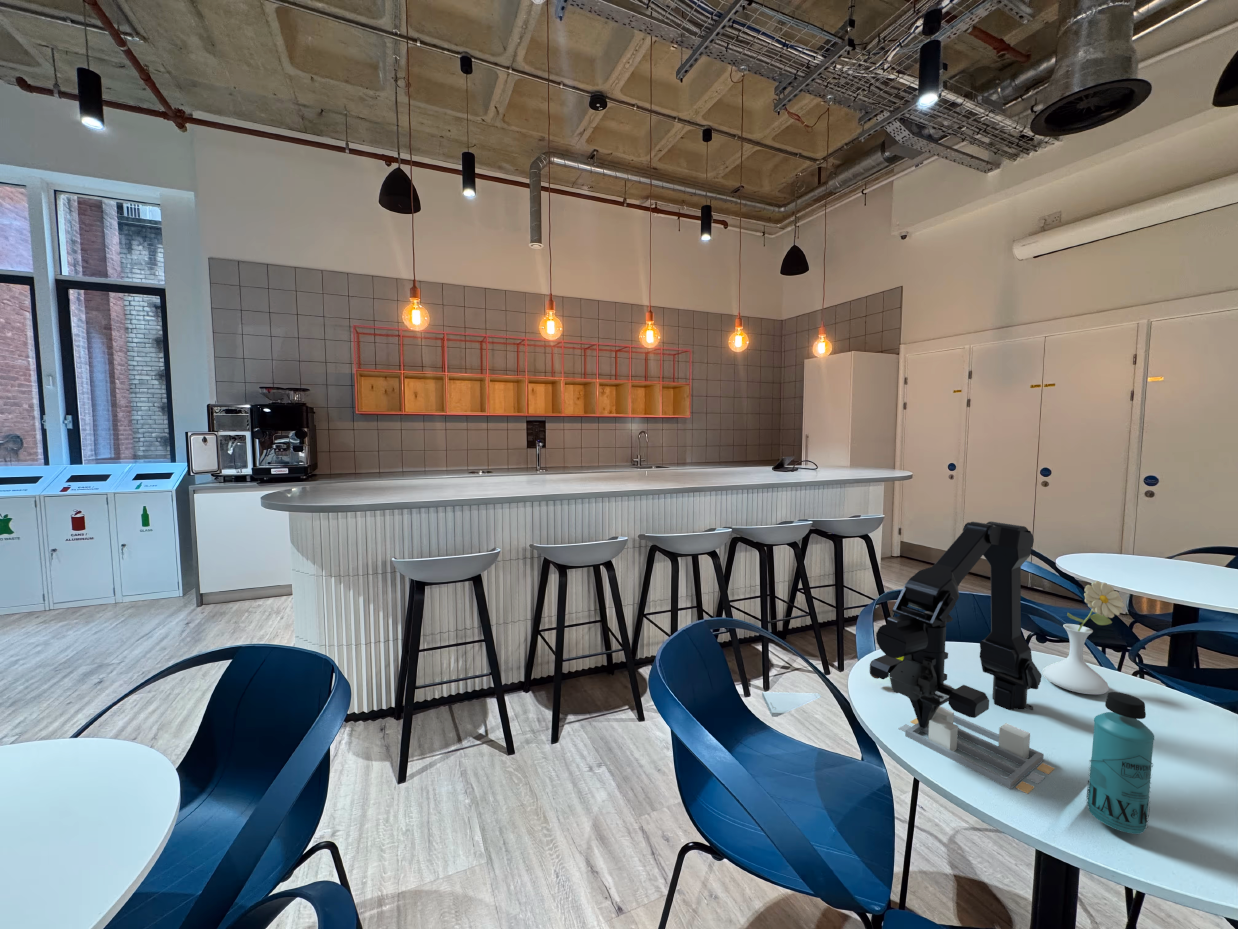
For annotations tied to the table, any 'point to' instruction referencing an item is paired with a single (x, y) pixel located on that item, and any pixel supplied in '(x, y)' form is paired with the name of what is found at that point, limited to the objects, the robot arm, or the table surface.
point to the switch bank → (985, 755)
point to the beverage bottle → (1121, 765)
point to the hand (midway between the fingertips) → (923, 727)
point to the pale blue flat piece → (786, 701)
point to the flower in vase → (1074, 668)
